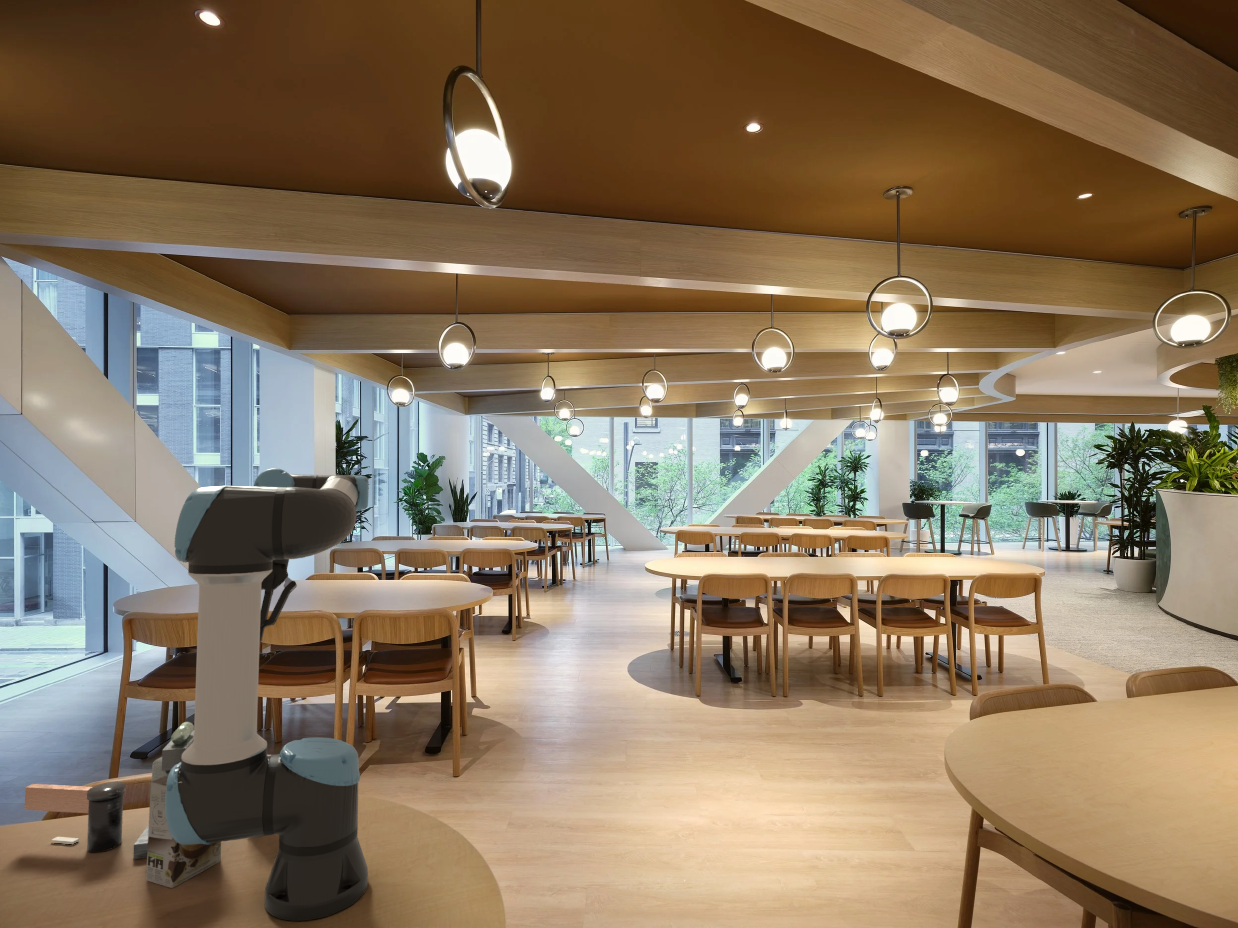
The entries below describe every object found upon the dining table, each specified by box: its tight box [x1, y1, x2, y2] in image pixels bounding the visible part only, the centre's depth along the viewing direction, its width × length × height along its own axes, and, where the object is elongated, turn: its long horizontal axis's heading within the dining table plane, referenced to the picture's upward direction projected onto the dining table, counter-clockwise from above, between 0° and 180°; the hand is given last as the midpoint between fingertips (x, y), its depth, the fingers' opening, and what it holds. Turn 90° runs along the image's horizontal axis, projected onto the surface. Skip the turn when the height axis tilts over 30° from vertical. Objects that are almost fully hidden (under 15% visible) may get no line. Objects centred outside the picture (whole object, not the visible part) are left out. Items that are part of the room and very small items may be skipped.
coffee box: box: [145, 775, 222, 889], centre depth 118 cm, size 9×6×16 cm
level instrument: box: [132, 721, 194, 860], centre depth 129 cm, size 11×11×20 cm
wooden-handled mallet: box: [24, 781, 127, 853], centre depth 126 cm, size 18×6×10 cm, turn 85°
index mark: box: [50, 836, 80, 845], centre depth 127 cm, size 4×1×1 cm, turn 82°
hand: (246, 658), depth 145 cm, fingers closed
